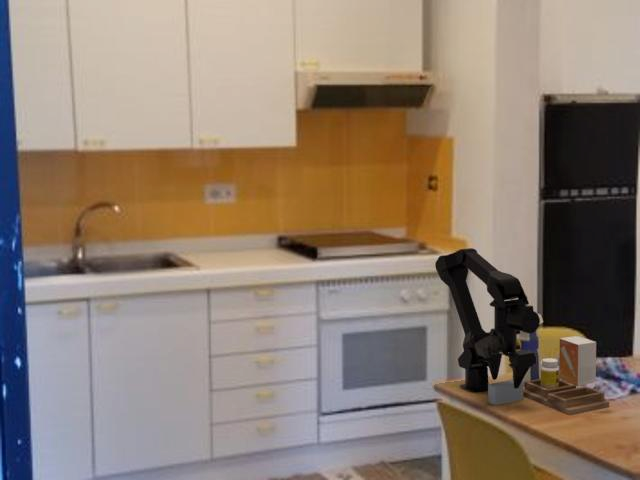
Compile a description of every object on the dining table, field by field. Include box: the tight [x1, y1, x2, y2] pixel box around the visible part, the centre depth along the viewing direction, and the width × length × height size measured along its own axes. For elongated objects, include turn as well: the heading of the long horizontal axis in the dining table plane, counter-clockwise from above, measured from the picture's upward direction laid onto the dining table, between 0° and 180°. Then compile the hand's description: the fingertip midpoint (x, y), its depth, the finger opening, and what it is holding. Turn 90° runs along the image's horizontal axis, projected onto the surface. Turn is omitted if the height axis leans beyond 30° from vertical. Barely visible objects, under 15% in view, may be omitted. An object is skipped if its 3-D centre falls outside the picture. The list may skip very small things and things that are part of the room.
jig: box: [523, 379, 610, 416], centre depth 233 cm, size 20×13×3 cm, turn 26°
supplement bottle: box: [541, 357, 559, 389], centre depth 237 cm, size 5×5×8 cm
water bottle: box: [511, 299, 544, 388], centre depth 247 cm, size 8×9×25 cm
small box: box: [558, 335, 597, 387], centre depth 245 cm, size 8×6×13 cm
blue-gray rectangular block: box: [487, 379, 524, 406], centre depth 234 cm, size 3×9×5 cm, turn 116°
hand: (505, 383), depth 233 cm, fingers open, 9 cm apart
